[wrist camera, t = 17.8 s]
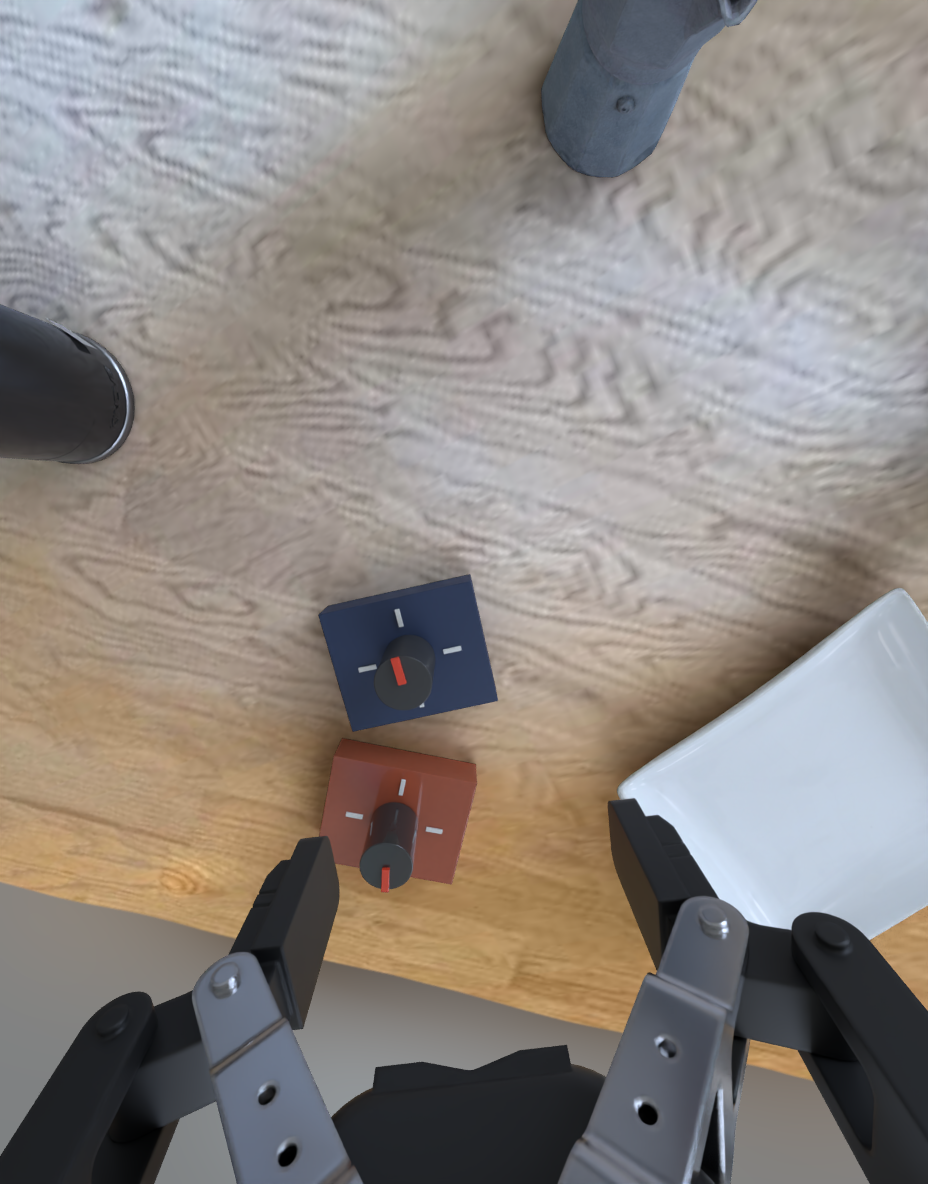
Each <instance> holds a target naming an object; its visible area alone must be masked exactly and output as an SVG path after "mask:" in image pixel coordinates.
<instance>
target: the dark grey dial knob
mask: <svg viewBox="0 0 928 1184" xmlns="http://www.w3.org/2000/svg"><path fill="white" fill-rule="evenodd" d="M417 831H418V818H417V816H416V814H415V812H414V811H413V810H412V809H411V808H410V807H409V806H407V805H405V804H403V803H399V802H389V803H385V804H383V805H381V806H380V807H378V808H377V809H376V810H375V811H374V813H373V814H372V817H371V820H370V824H369V828H368V832H367V836H366V839H365V843H364V847H363V851H362V855H361V858H360V864H359V867H360V872H361V874H362V876H363V878H364V879H365V880H366V881H367V882H368V883H369V884H370V885H372V886H374V887H376V888H380V889H381V892H389V889H394V888H397V887H399V886H401V885H403V884H404V883H405V882H407V880H408V879H409V878H410V876H411V874H412V871H413V865H414V856H415V848H416V839H417Z"/></svg>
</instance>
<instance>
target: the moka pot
mask: <svg viewBox="0 0 928 1184" xmlns="http://www.w3.org/2000/svg"><path fill="white" fill-rule="evenodd" d="M756 2H757V0H578V2H577V4H576V7H575V9H574V12H573V14H572V16H571V19H570V21H569V24H568V26H567V28H566V30H565V33H564V35H563V37H562V40H561V42H560V45H559V47H558V49H557V52H556V54H555V57H554V59H553V62H552V64H551V66H550V69H549V71H548V74H547V76H546V78H545V81H544V83H543V86H542V89H541V93H542V109H543V114H544V122H545V131H546V133H547V136H548V139H549V140H550V142H551V144H552V146H553V148H554V149H555V151H556V152H557V153H558V154H559V155H560V156H561V158H562V159H563V161H565V162H566V163H567V165H568V166H570V167H571V168H572V169H573V170H575V171H577V172H580V173H583V174H586V175H589V176H595V177H615V176H618V175H621V174H623V173H625V172H626V171H628V170H630V169H632V168H633V167H635V166H636V165H638V164H639V163H640V162H642V161H643V160H644V159H645V158H647V157H648V156H649V155H651V154H652V152H653V150H654V149H655V147H656V145H657V143H658V141H659V139H660V137H661V135H662V133H663V131H664V128H665V126H666V124H667V122H668V119H669V117H670V115H671V113H672V111H673V108H674V106H675V103H676V101H677V99H678V96H679V94H680V91H681V89H682V87H683V84H684V82H685V79H686V77H687V74H688V72H689V70H690V67H691V65H692V62H693V60H694V57H695V56H696V54H697V53H698V51H699V50H700V48H701V47H702V45H704V44H705V43H706V42H707V41H709V40H710V39H711V38H713V37H714V36H715V35H717V34H718V33H719V32H720V31H721V30H722V29H723V28H724V26H725V25H726V26H727V27H729V26H735V25H739V24H740V23H741V22H742V21H743V20H744V19H745V18H746V16H747V15H748V14H749V12H750V11H751V10H752V8H753V7H754V5H755V4H756Z"/></svg>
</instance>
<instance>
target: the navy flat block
mask: <svg viewBox="0 0 928 1184" xmlns="http://www.w3.org/2000/svg"><path fill="white" fill-rule="evenodd" d="M318 616H319V619H320V622H321V626H322V629H323V633H324V636H325V639H326V643H327V646H328V650H329V653H330V657H331V660H332V663H333V667H334V670H335V674H336V677H337V680H338V684H339V687H340V691H341V694H342V697H343V701H344V704H345V708H346V711H347V714H348V718H349V721H350V725H351V728H352V731H353V732H354V731H358V730H363V729H368V728H372V727H377V726H382V725H387V724H391V723H396V722H401V721H405V720H410V719H415V718H419V717H424V716H429V715H434V714H438V713H443V712H448V711H452V710H457V709H462V708H466V707H471V706H476V705H480V704H485V703H490V702H495V701H498V698H497V693H496V687H495V683H494V678H493V674H492V669H491V665H490V660H489V656H488V651H487V647H486V642H485V638H484V634H483V629H482V625H481V620H480V616H479V611H478V607H477V602H476V598H475V593H474V589H473V585H472V580H471V576H470V574H469V575H464V576H460V577H455V578H451V579H446V580H442V581H437V582H433V583H428V584H424V585H419V586H415V587H410V588H406V589H401V590H397V591H392V592H388V593H383V594H379V595H374V596H370V597H365V598H361V599H356V600H352V601H347V602H343V603H338V604H334V605H329V606H327V607H326V608H325V609H324V610H323V611H322V612H321V613H320V614H319V615H318ZM403 635H415V636H419V637H421V638H423V639H424V640H426V641H427V642H428V643H429V644H430V645H431V647H432V648H433V650H434V653H435V668H434V676H433V683H432V689H431V693H430V695H429V697H428V698H427V700H426V701H425V702H424V703H423V704H422V705H420V706H418V707H416V708H414V709H411V710H396V709H393V708H391V707H389V706H387V705H385V704H384V703H383V702H382V701H381V700H380V699H379V697H378V696H377V694H376V692H375V688H374V676H375V673H376V671H377V669H378V666H379V664H380V662H381V659H382V657H383V655H384V653H385V650H386V648H387V647H388V645H389V644H390V643H391V642H392V641H393V640H394V639H396V638H398V637H400V636H403Z"/></svg>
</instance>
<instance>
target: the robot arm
mask: <svg viewBox="0 0 928 1184" xmlns="http://www.w3.org/2000/svg"><path fill="white" fill-rule="evenodd" d="M46 319H47V318H46ZM48 320H49V319H48ZM49 321H51V322H52V323H54V324H55V325H57V326H58V327H56V326H54V325H51V324H49V323H46V322H44V321H42V320H39V319H37V318H34V317H32V316H29V315H27V314H24V313H22V312H19V311H16V310H14V309H11V308H9V307H6V306H4V305H1V304H0V458H12V459H29V460H43V461H58V462H62V463H70V464H88V463H93V462H97V461H100V460H103V459H105V458H107V457H108V456H110V455H112V454H113V453H114V452H116V451H117V450H118V449H119V448H120V447H121V445H122V444H123V443H124V442H125V440H126V438H127V437H128V435H129V433H130V430H131V427H132V424H133V419H134V397H133V392H132V388H131V385H130V382H129V380H128V378H127V375H126V374H125V372H124V370H123V368H122V367H121V365H120V364H119V362H118V361H117V360H116V359H115V358H114V356H113V355H112V354H111V353H110V352H109V351H108V350H106V349H105V348H104V347H103V346H101V345H100V344H99V343H97V342H95V341H94V340H92V339H90V338H88V337H85V336H83V335H80V334H78V333H75V332H72V331H70V330H68V329H67V328H66V327H64V326H63V325H61V324H59V323H56V322H54V321H52V320H49ZM59 327H60V328H59ZM608 816H609V828H610V840H611V850H612V856H613V861H614V865H615V869H616V872H617V874H618V877H619V879H620V882H621V884H622V887H623V889H624V892H625V894H626V896H627V899H628V901H629V904H630V906H631V909H632V911H633V914H634V916H635V919H636V921H637V923H638V926H639V928H640V931H641V933H642V936H643V938H644V941H645V943H646V945H647V948H648V950H649V953H650V955H651V958H652V960H653V963H654V965H655V967H656V970H657V973H656V975H654V974H652V973H650V972H649V973H647V975H646V976H645V978H644V980H643V982H642V985H641V987H640V990H639V993H638V995H637V998H636V1000H635V1003H634V1006H633V1008H632V1011H631V1014H630V1016H629V1019H628V1021H627V1024H626V1027H625V1029H624V1032H623V1035H622V1037H621V1040H620V1042H619V1045H618V1048H617V1050H616V1053H615V1056H614V1058H613V1061H612V1064H611V1066H610V1069H609V1071H608V1074H607V1076H606V1077H605V1076H603V1075H602V1074H599V1073H597V1072H595V1071H593V1070H591V1069H588V1068H585V1067H582V1066H579V1065H574V1064H571V1063H570V1058H569V1053H568V1048H567V1045H562V1046H553V1047H545V1048H537V1049H528V1050H520V1051H517V1052H515V1053H513V1054H510V1055H508V1056H505V1057H503V1058H501V1059H498V1060H496V1061H494V1062H491V1063H489V1064H487V1065H484V1066H482V1067H480V1068H477V1069H474V1070H463V1069H458V1068H452V1067H447V1066H441V1065H437V1064H431V1063H426V1062H416V1063H409V1064H400V1065H391V1066H382V1067H376V1069H375V1075H374V1083H373V1088H371V1089H369V1090H367V1091H365V1092H363V1093H361V1094H360V1095H358V1096H356V1097H355V1098H353V1099H352V1100H351V1101H349V1102H348V1103H346V1104H345V1105H344V1106H343V1107H342V1108H340V1110H338V1111H337V1112H336V1113H335V1114H334V1115H333V1116H332V1117H330V1114H329V1112H328V1110H327V1108H326V1105H325V1103H324V1101H323V1099H322V1096H321V1094H320V1092H319V1089H318V1087H317V1085H316V1083H315V1080H314V1078H313V1076H312V1074H311V1072H310V1069H309V1067H308V1065H307V1062H306V1060H305V1058H304V1056H303V1054H302V1051H301V1049H300V1047H299V1044H298V1042H297V1040H296V1037H295V1035H294V1033H293V1031H292V1030H297V1029H303V1027H304V1023H305V1020H306V1017H307V1013H308V1010H309V1006H310V1003H311V999H312V995H313V992H314V989H315V985H316V982H317V978H318V974H319V971H320V968H321V964H322V961H323V957H324V954H325V950H326V947H327V943H328V940H329V936H330V933H331V929H332V926H333V922H334V919H335V915H336V912H337V908H338V904H339V880H338V876H337V871H336V866H335V862H334V857H333V852H332V848H331V843H330V840H329V838H328V836H320V837H312V838H304V839H300V840H299V842H298V844H297V846H296V848H295V850H294V852H293V855H292V857H291V859H290V860H283V861H281V862H280V863H279V864H278V865H277V866H276V867H275V868H274V869H273V870H272V871H271V872H270V873H269V874H268V875H267V877H266V879H265V881H264V883H263V885H262V887H261V889H260V891H259V895H257V897H256V899H255V901H254V904H253V908H251V910H250V912H249V914H248V916H247V918H246V920H245V922H244V924H243V926H242V928H241V930H240V932H239V934H238V936H237V938H236V940H235V942H234V945H233V947H232V949H231V951H230V953H229V955H228V956H225V957H223V958H221V959H219V960H218V961H217V962H215V963H214V964H212V965H211V966H210V967H209V968H208V969H207V970H206V971H205V972H204V973H203V974H202V975H201V976H200V978H199V979H198V981H197V982H196V984H195V986H194V989H193V990H192V991H190V992H188V993H186V994H184V995H181V996H179V997H176V998H174V999H171V1000H169V1001H166V1002H164V1003H162V1004H159V1005H157V1006H153V1003H152V1000H151V998H150V996H149V995H148V994H146V993H144V992H132V993H128V994H125V995H122V996H120V997H118V998H116V999H114V1000H112V1001H111V1002H109V1003H108V1004H106V1005H105V1006H103V1007H102V1008H101V1009H100V1010H98V1011H97V1012H96V1013H95V1014H94V1015H93V1016H92V1017H91V1018H90V1019H89V1020H88V1022H87V1023H86V1024H85V1025H84V1026H83V1028H82V1029H81V1031H80V1032H79V1034H78V1036H77V1037H76V1039H75V1040H74V1042H73V1043H72V1045H71V1046H70V1048H69V1050H68V1051H67V1053H66V1054H65V1056H64V1057H63V1059H62V1060H61V1062H60V1064H59V1065H58V1067H57V1068H56V1070H55V1072H54V1073H53V1075H52V1076H51V1078H50V1079H49V1081H48V1082H47V1084H46V1086H45V1087H44V1089H43V1090H42V1092H41V1093H40V1095H39V1097H38V1098H37V1100H36V1101H35V1103H34V1105H33V1106H32V1107H31V1109H30V1110H29V1112H28V1114H27V1115H26V1117H25V1118H24V1120H23V1121H22V1123H21V1124H20V1126H19V1128H18V1129H17V1131H16V1133H15V1134H14V1135H13V1137H12V1139H11V1140H10V1142H9V1143H8V1145H7V1146H6V1148H5V1149H4V1151H3V1153H2V1154H1V1156H0V1184H154V1183H155V1180H156V1177H157V1175H158V1173H159V1170H160V1167H161V1164H162V1162H163V1160H164V1157H165V1155H166V1152H167V1150H168V1147H169V1144H170V1142H171V1139H172V1137H173V1134H174V1132H175V1129H176V1127H177V1124H178V1122H179V1119H180V1118H181V1117H184V1116H186V1115H188V1114H190V1113H192V1112H194V1111H196V1110H199V1109H201V1108H203V1107H205V1106H207V1105H209V1104H211V1103H213V1102H215V1101H216V1102H217V1106H218V1110H219V1114H220V1118H221V1122H222V1126H223V1130H224V1134H225V1138H226V1142H227V1146H228V1150H229V1154H230V1157H231V1162H232V1166H233V1170H234V1174H235V1178H236V1182H237V1184H731V1177H732V1167H733V1158H734V1142H735V1130H736V1122H737V1116H738V1110H739V1104H740V1098H741V1092H742V1086H743V1080H744V1074H745V1068H746V1062H747V1057H748V1051H749V1045H750V1039H751V1040H756V1041H760V1042H765V1043H769V1044H773V1045H778V1046H782V1047H787V1048H791V1049H795V1050H798V1052H799V1054H800V1056H801V1057H802V1059H803V1061H804V1063H805V1065H806V1067H807V1069H808V1070H809V1072H810V1074H811V1076H812V1078H813V1080H814V1081H815V1083H816V1085H817V1087H818V1089H819V1091H820V1093H821V1094H822V1096H823V1098H824V1100H825V1102H826V1104H827V1106H828V1107H829V1109H830V1111H831V1113H832V1115H833V1117H834V1118H835V1120H836V1122H837V1124H838V1126H839V1128H840V1130H841V1131H842V1133H843V1135H844V1137H845V1139H846V1141H847V1143H848V1144H849V1146H850V1148H851V1150H852V1152H853V1154H854V1155H855V1157H856V1159H857V1161H858V1163H859V1165H860V1166H861V1168H862V1170H863V1172H864V1174H865V1176H866V1178H867V1180H868V1181H869V1183H870V1184H928V1011H927V1010H926V1008H925V1007H924V1006H923V1005H922V1004H921V1002H920V1001H919V1000H918V999H917V998H916V996H915V995H914V994H913V993H912V992H911V990H910V989H909V988H908V987H907V985H906V984H905V983H904V982H903V981H902V979H901V978H900V977H899V976H898V975H897V973H896V972H895V971H894V970H893V968H892V967H891V966H890V965H889V964H888V962H887V961H886V960H885V959H884V958H883V956H882V955H881V954H880V953H879V952H878V950H877V949H876V948H875V947H874V945H873V944H872V943H871V942H870V941H869V939H868V938H867V937H866V936H865V935H864V934H863V933H862V932H861V931H860V930H859V929H857V928H856V927H855V926H853V925H852V924H850V923H849V922H847V921H845V920H843V919H841V918H839V917H836V916H833V915H830V914H826V913H821V912H807V913H803V914H800V915H799V916H797V917H796V918H795V919H794V921H793V923H792V927H791V930H789V929H783V928H776V927H770V926H764V925H759V924H756V923H752V922H750V921H747V920H746V919H745V918H744V916H743V915H742V914H741V913H740V912H739V911H738V910H737V909H736V908H735V907H734V906H732V905H731V904H729V903H727V902H725V901H723V900H721V899H719V897H718V896H717V894H716V893H715V891H714V889H713V888H712V886H711V885H710V883H709V881H708V880H707V878H706V877H705V875H704V874H703V872H702V870H701V869H700V867H699V866H698V864H697V862H696V861H695V859H694V858H693V856H692V855H691V854H690V851H689V850H688V848H687V847H686V845H685V843H683V840H682V839H681V837H680V835H679V834H678V832H677V831H676V829H675V828H674V826H673V825H671V824H670V823H669V822H667V821H666V820H665V819H663V818H662V817H661V816H659V815H652V816H645V814H644V812H643V811H642V809H641V807H640V805H639V803H638V802H637V800H636V799H635V798H630V799H622V800H614V801H609V802H608Z"/></svg>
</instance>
